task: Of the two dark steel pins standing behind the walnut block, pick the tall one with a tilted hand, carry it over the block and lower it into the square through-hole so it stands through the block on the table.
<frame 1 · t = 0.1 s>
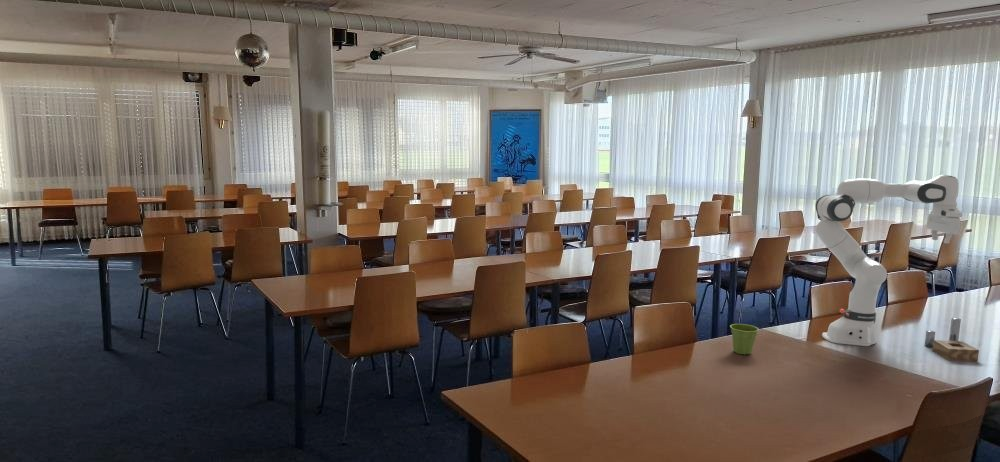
hand: (940, 241, 296), 48 cm above the table, fingers open, 8 cm apart
hole block: (954, 356, 286), on the table
short pin: (929, 346, 299), on the table
plant pot: (742, 352, 287), on the table
long pin: (952, 348, 296), on the table
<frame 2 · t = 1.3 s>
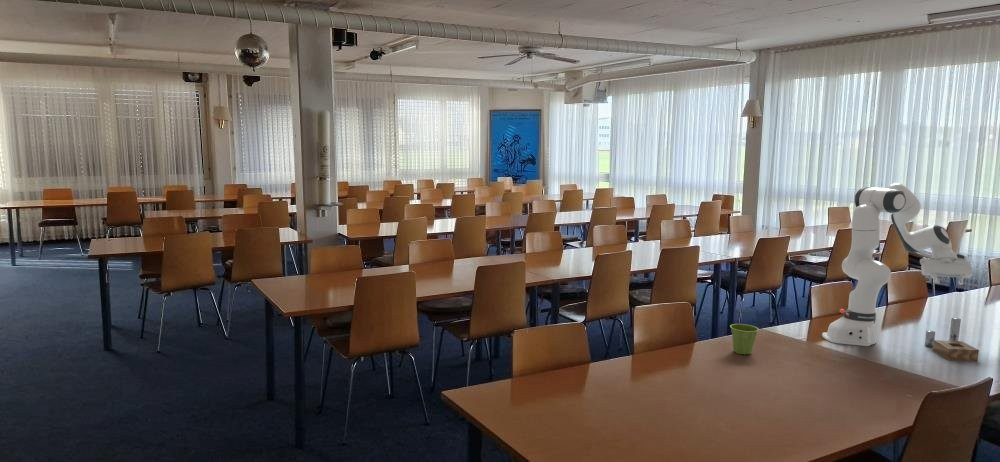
hand: (949, 283, 304), 28 cm above the table, fingers open, 8 cm apart
nothing on the table moved.
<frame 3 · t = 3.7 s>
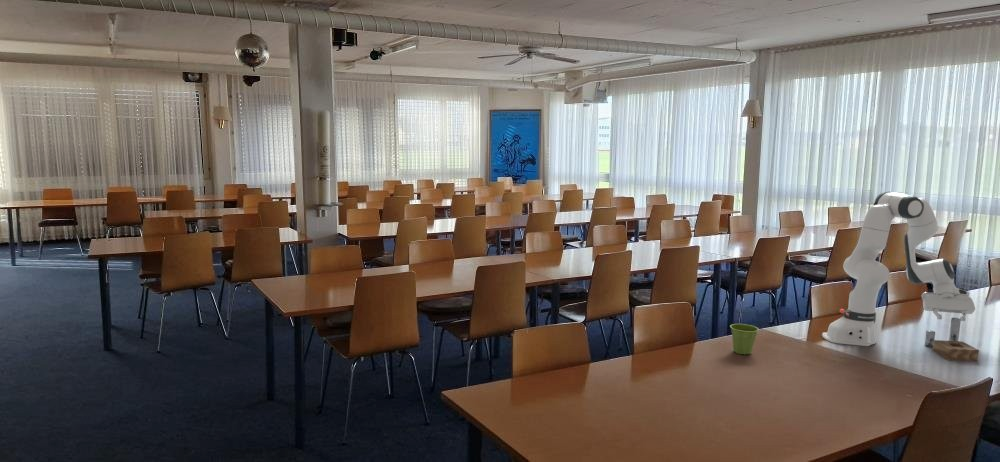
hand: (951, 319, 299), 12 cm above the table, fingers open, 8 cm apart
nothing on the table moved.
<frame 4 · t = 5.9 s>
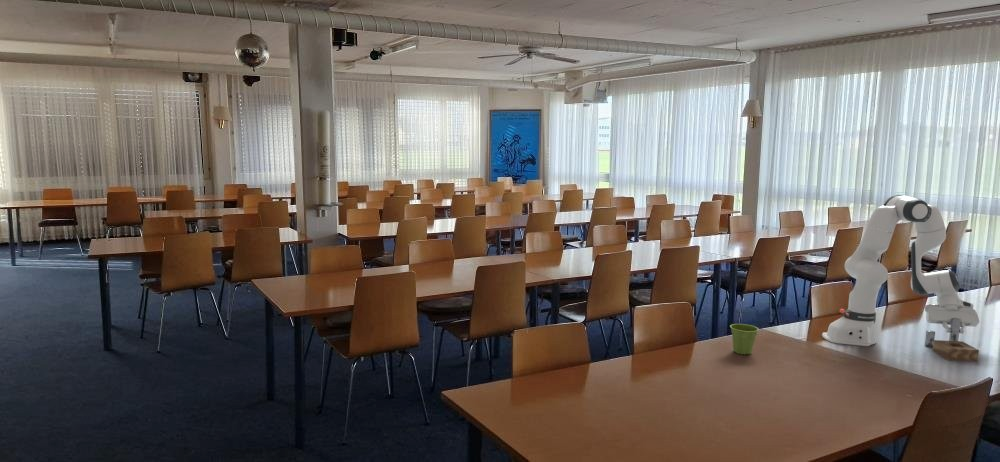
hand: (955, 332, 295), 8 cm above the table, fingers closed on long pin, 3 cm apart
long pin: (952, 348, 296), on the table, touching gripper
everything else where it was.
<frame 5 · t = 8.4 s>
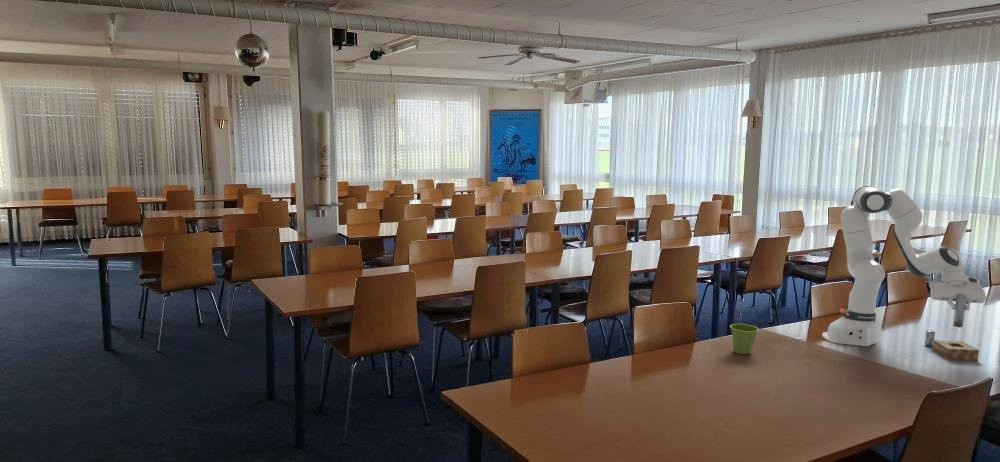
hand: (960, 309, 283), 21 cm above the table, fingers closed on long pin, 3 cm apart
long pin: (957, 326, 284), point 13 cm above the table, touching gripper
everything else where it was.
when the fingers open (10 cm above the table, at t = 11.3 s): long pin drops 2 cm, resting in hole block.
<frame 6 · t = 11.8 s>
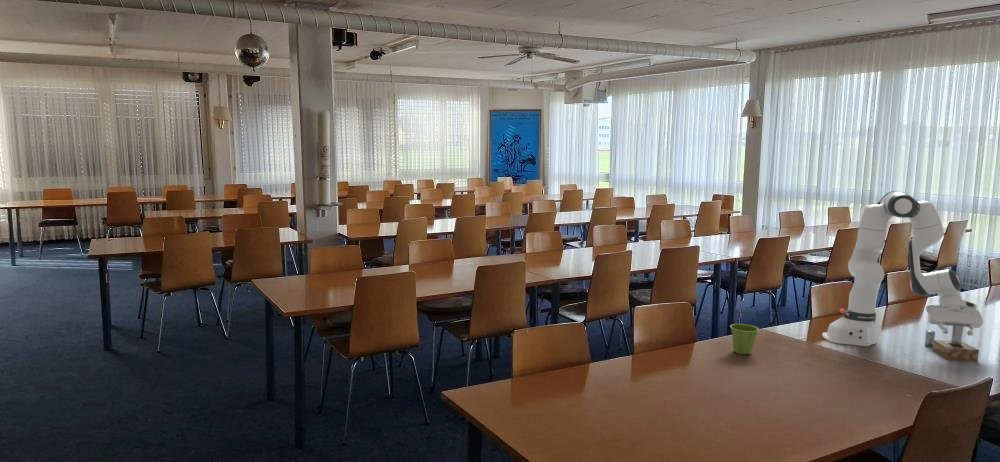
hand: (957, 333, 284), 10 cm above the table, fingers open, 8 cm apart
long pin: (954, 356, 286), resting in hole block
everything else where it was.
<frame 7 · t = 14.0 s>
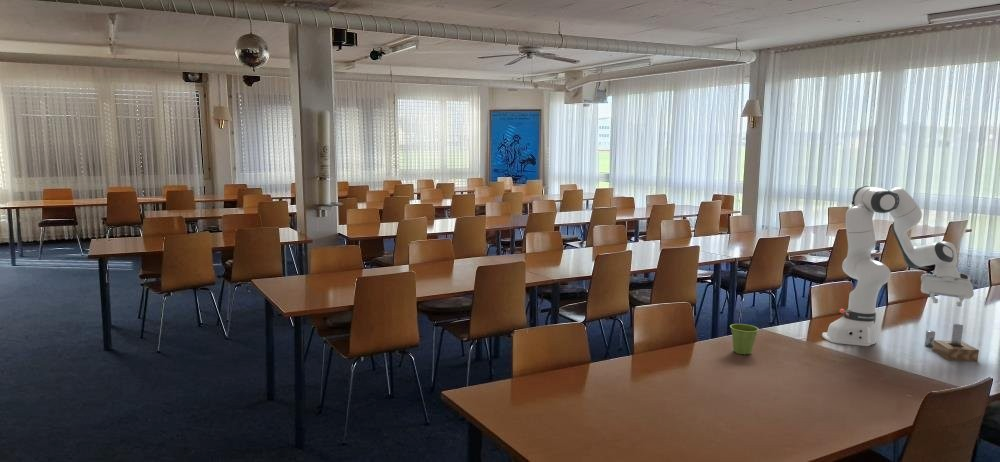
hand: (947, 304, 296), 20 cm above the table, fingers open, 8 cm apart
nothing on the table moved.
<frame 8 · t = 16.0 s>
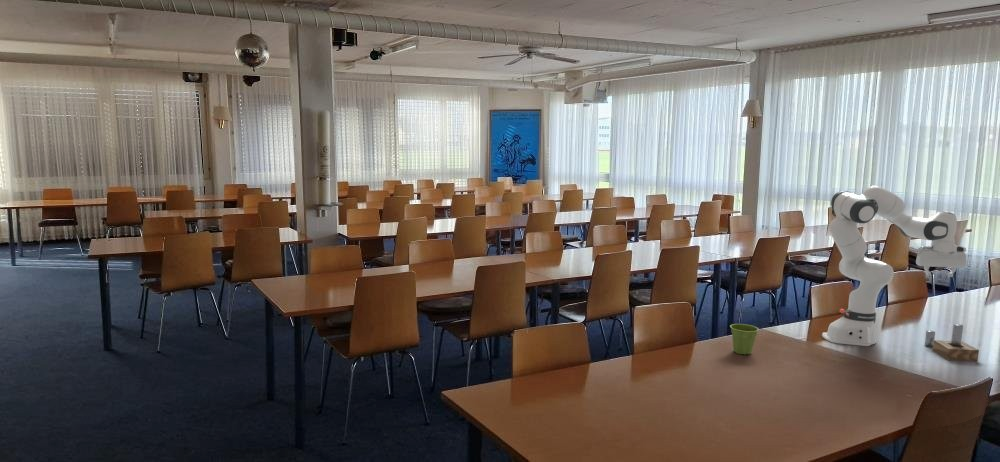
hand: (939, 276, 302), 31 cm above the table, fingers open, 8 cm apart
nothing on the table moved.
at the end: long pin 0.0 cm off-centre on the hole block, point 0.0 cm above the hole block's base; long pin tilted 0°; the gripper is holding nothing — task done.
